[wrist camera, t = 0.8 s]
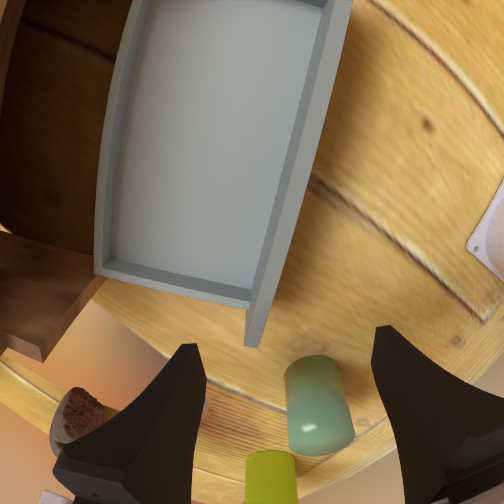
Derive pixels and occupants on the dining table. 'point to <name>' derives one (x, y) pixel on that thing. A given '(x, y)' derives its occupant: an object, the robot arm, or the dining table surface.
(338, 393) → the sea green cylinder
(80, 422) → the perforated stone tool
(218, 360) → the dining table surface
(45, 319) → the wooden drawer box
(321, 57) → the drawer tray
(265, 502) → the soap dispenser
